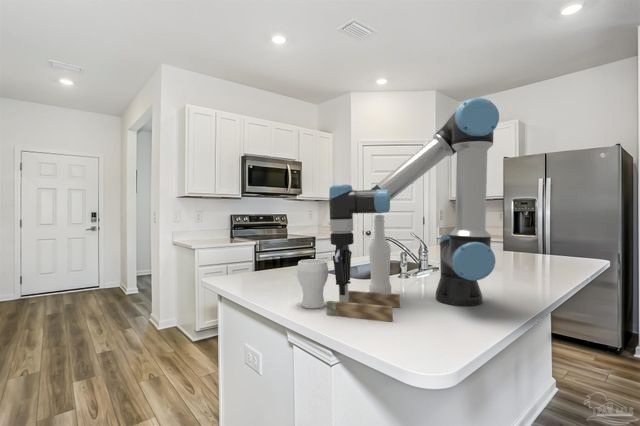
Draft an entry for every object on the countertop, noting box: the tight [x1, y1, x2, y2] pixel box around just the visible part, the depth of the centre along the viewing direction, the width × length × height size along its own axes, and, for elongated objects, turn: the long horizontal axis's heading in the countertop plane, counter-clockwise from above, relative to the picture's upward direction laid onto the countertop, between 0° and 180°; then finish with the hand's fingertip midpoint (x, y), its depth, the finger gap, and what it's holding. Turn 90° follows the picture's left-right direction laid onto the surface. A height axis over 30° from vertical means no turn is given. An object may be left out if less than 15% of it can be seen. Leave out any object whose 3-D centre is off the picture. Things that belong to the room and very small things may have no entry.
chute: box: [325, 289, 401, 322], centre depth 109 cm, size 20×16×4 cm
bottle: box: [368, 214, 392, 294], centre depth 127 cm, size 8×8×30 cm
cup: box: [296, 258, 329, 309], centre depth 115 cm, size 11×11×15 cm
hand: (343, 304), depth 111 cm, fingers closed
